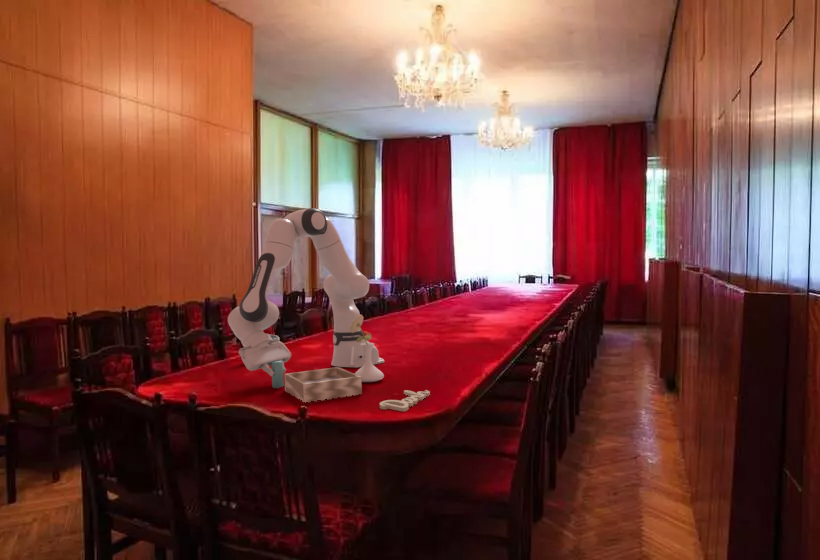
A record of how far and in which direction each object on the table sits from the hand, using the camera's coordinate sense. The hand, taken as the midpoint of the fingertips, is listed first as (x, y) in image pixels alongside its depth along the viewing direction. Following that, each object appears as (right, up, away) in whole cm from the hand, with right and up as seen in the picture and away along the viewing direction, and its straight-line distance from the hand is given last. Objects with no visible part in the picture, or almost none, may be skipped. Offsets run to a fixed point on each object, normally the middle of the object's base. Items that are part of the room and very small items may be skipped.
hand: (278, 373), depth 219 cm
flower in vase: (+31, -4, +6) cm, 32 cm away
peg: (0, -5, +1) cm, 5 cm away
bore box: (+17, -5, -10) cm, 21 cm away
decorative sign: (+46, -6, -25) cm, 52 cm away
